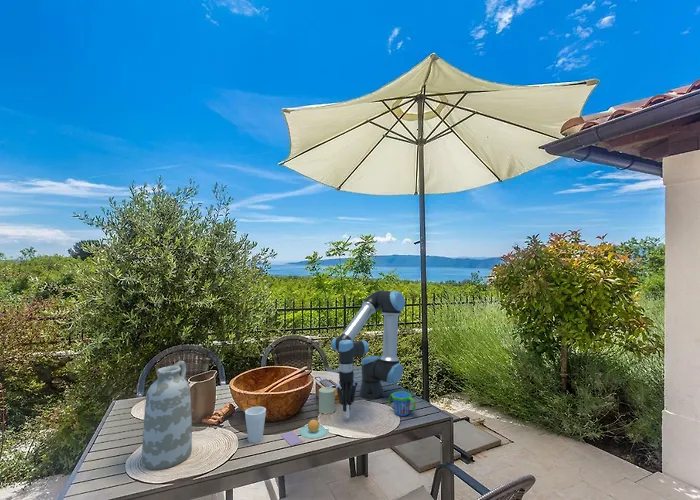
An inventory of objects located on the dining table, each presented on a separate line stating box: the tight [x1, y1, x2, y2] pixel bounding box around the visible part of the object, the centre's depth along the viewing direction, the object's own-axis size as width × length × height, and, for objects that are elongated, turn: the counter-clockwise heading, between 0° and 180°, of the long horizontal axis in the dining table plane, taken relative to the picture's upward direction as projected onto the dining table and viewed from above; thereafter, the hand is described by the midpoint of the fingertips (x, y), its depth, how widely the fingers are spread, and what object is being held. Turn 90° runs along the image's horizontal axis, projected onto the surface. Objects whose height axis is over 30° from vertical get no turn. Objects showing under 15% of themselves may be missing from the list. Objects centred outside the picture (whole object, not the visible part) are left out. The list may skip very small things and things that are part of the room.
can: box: [318, 386, 336, 414], centre depth 189 cm, size 9×9×12 cm
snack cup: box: [387, 390, 416, 417], centre depth 184 cm, size 16×10×10 cm
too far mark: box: [280, 430, 304, 446], centre depth 158 cm, size 6×12×1 cm, turn 34°
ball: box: [307, 419, 320, 432], centre depth 164 cm, size 6×6×6 cm
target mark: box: [299, 423, 329, 439], centre depth 165 cm, size 14×14×1 cm
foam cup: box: [244, 406, 267, 443], centre depth 158 cm, size 10×9×13 cm
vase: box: [141, 360, 193, 471], centre depth 145 cm, size 20×19×38 cm
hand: (346, 417), depth 176 cm, fingers closed
